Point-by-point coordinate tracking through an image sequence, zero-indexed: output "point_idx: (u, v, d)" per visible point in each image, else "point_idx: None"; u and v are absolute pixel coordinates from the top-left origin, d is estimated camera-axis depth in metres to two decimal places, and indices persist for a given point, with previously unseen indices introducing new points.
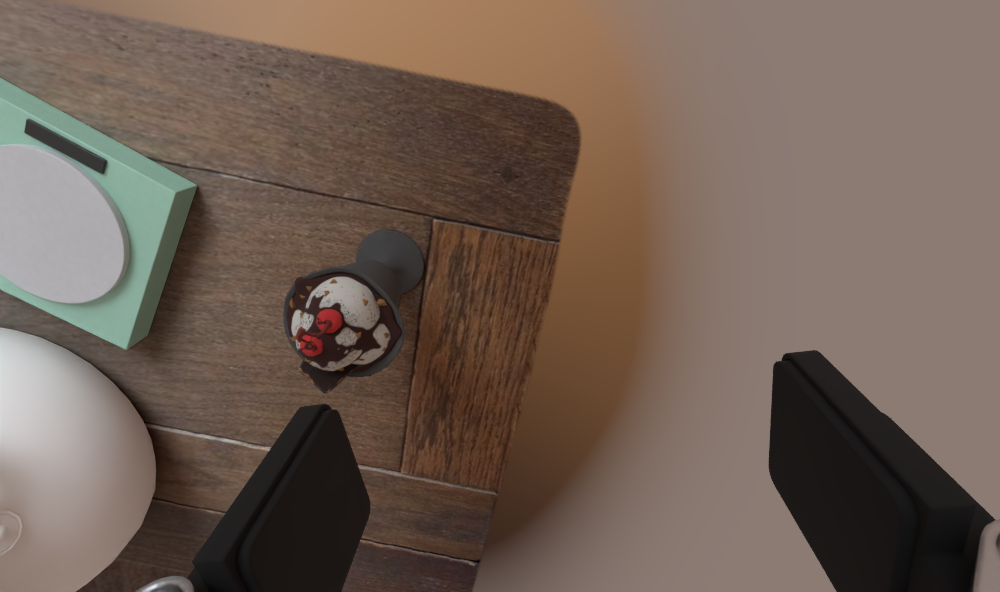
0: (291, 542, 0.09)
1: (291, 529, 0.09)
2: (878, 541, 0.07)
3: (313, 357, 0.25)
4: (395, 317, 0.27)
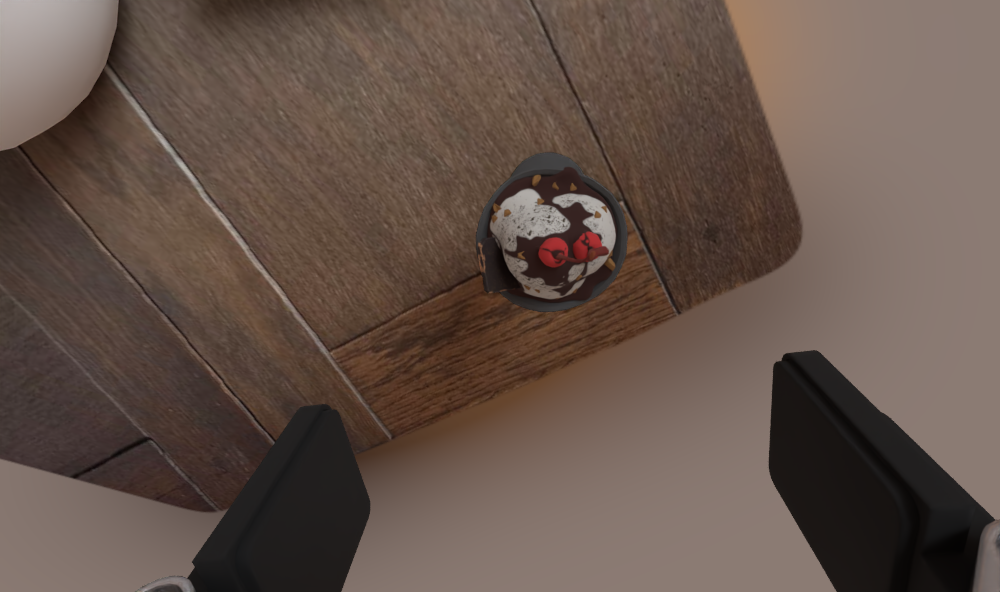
0: (291, 542, 0.09)
1: (291, 529, 0.09)
2: (878, 541, 0.07)
3: (534, 261, 0.20)
4: (599, 284, 0.23)
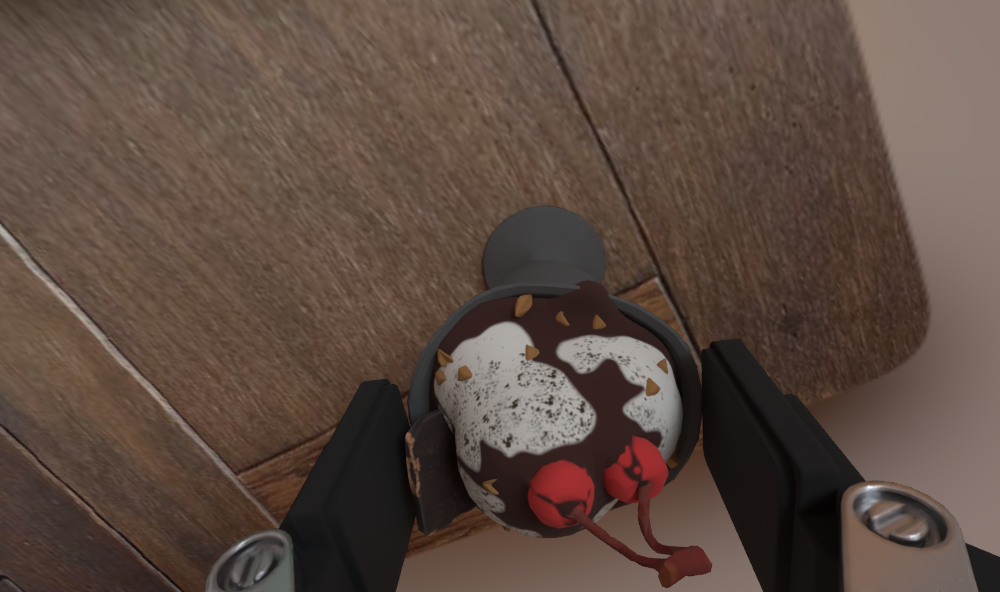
0: (368, 503, 0.09)
1: (368, 491, 0.09)
2: (769, 505, 0.08)
3: (519, 503, 0.09)
4: None
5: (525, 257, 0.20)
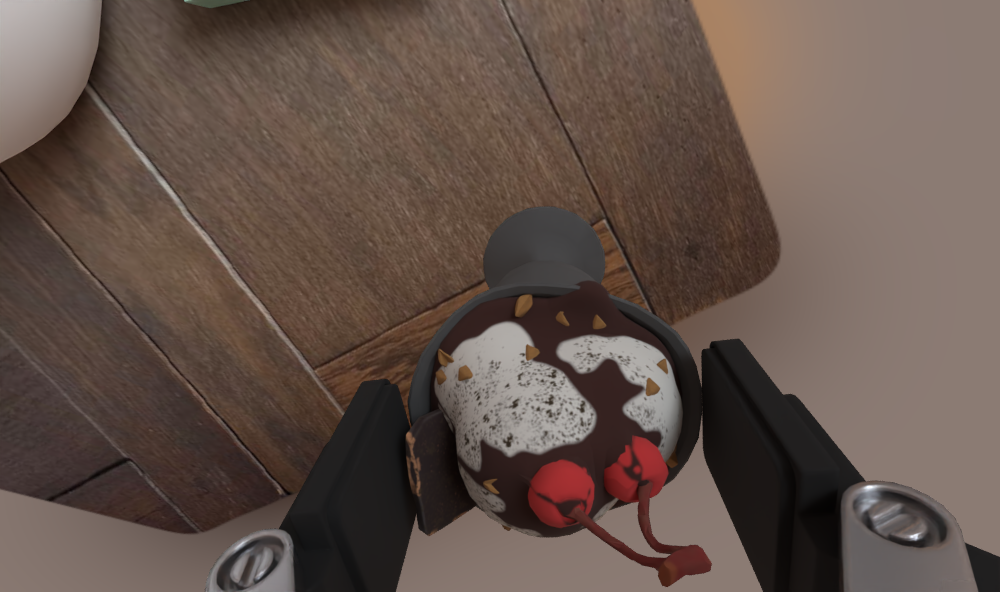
0: (368, 503, 0.09)
1: (368, 491, 0.09)
2: (769, 506, 0.08)
3: (519, 502, 0.09)
4: None
5: (525, 257, 0.20)
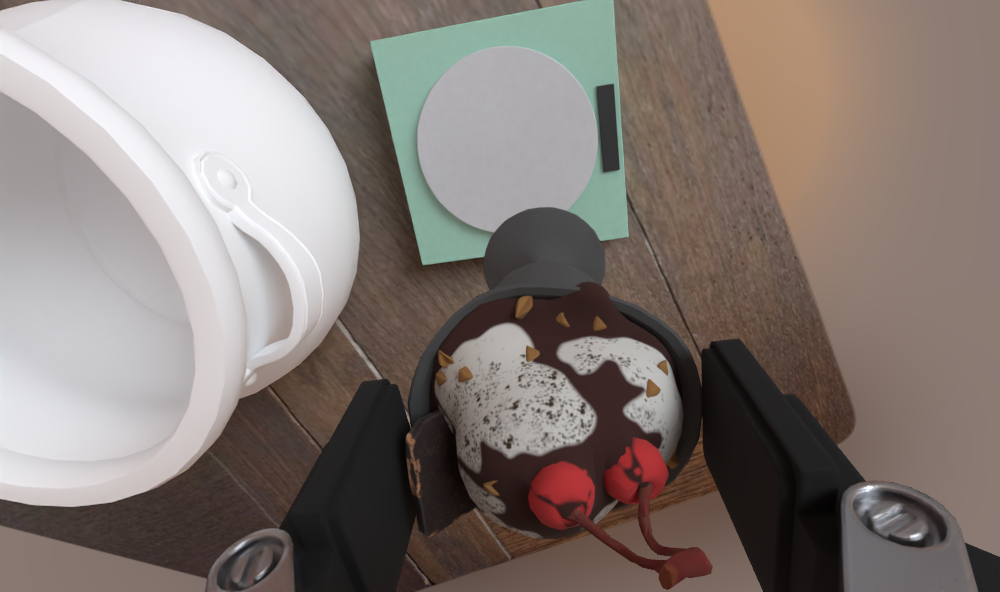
0: (368, 502, 0.09)
1: (368, 490, 0.09)
2: (769, 506, 0.08)
3: (520, 504, 0.09)
4: None
5: (525, 258, 0.20)
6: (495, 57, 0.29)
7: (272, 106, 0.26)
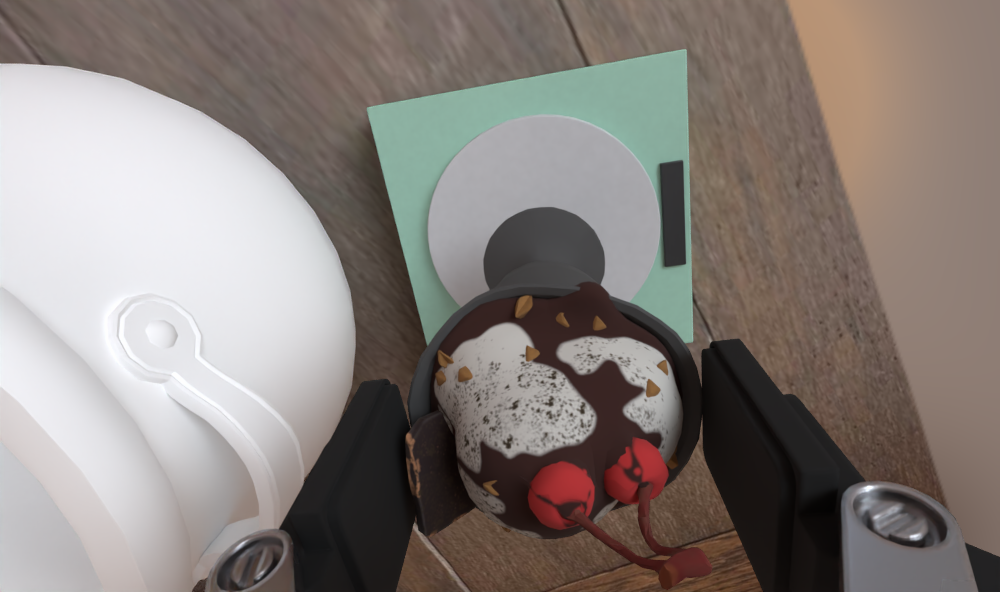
0: (368, 502, 0.09)
1: (368, 490, 0.09)
2: (769, 505, 0.08)
3: (519, 504, 0.09)
4: None
5: (525, 258, 0.20)
6: (530, 129, 0.22)
7: (235, 206, 0.20)
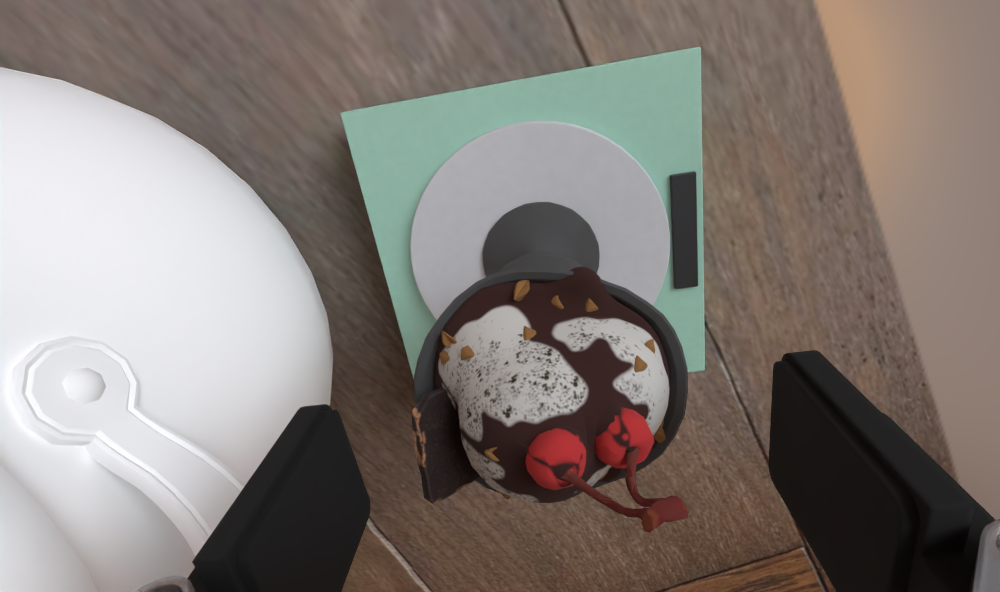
0: (291, 542, 0.09)
1: (291, 529, 0.09)
2: (878, 541, 0.07)
3: (518, 469, 0.10)
4: None
5: (523, 250, 0.21)
6: (524, 137, 0.20)
7: (186, 227, 0.17)
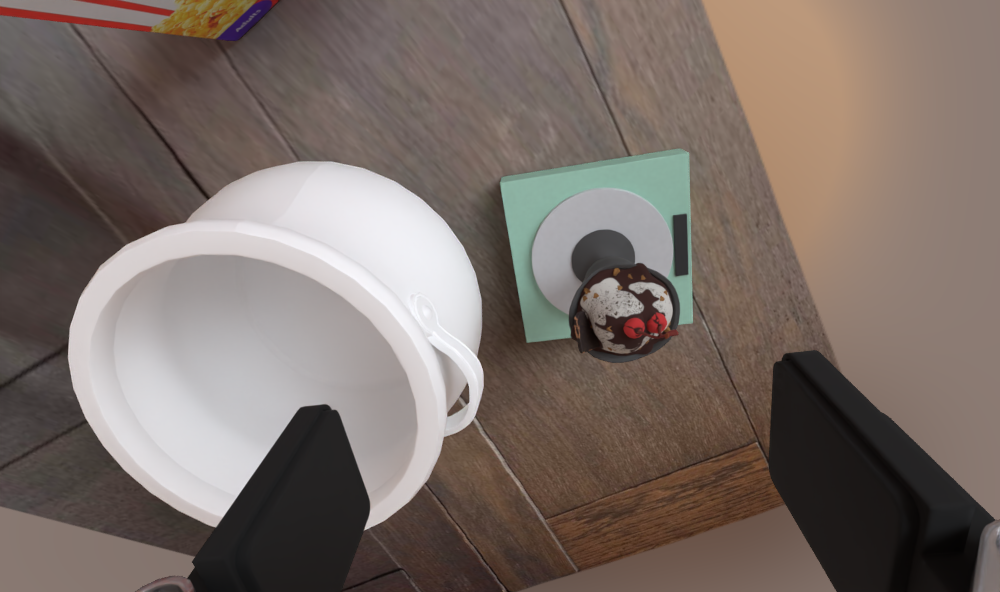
0: (291, 542, 0.09)
1: (291, 529, 0.09)
2: (878, 541, 0.07)
3: (619, 333, 0.28)
4: (657, 343, 0.32)
5: (595, 255, 0.39)
6: (597, 196, 0.38)
7: (439, 244, 0.36)
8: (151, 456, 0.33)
